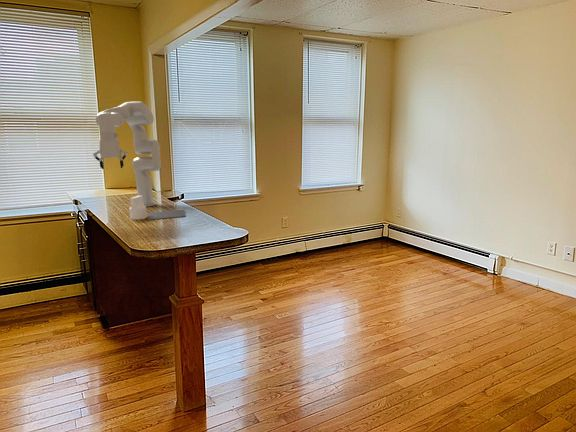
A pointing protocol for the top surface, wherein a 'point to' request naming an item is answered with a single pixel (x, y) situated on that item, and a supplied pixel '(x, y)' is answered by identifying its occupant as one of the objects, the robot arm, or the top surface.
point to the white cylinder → (137, 208)
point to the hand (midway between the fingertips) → (112, 168)
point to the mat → (166, 214)
